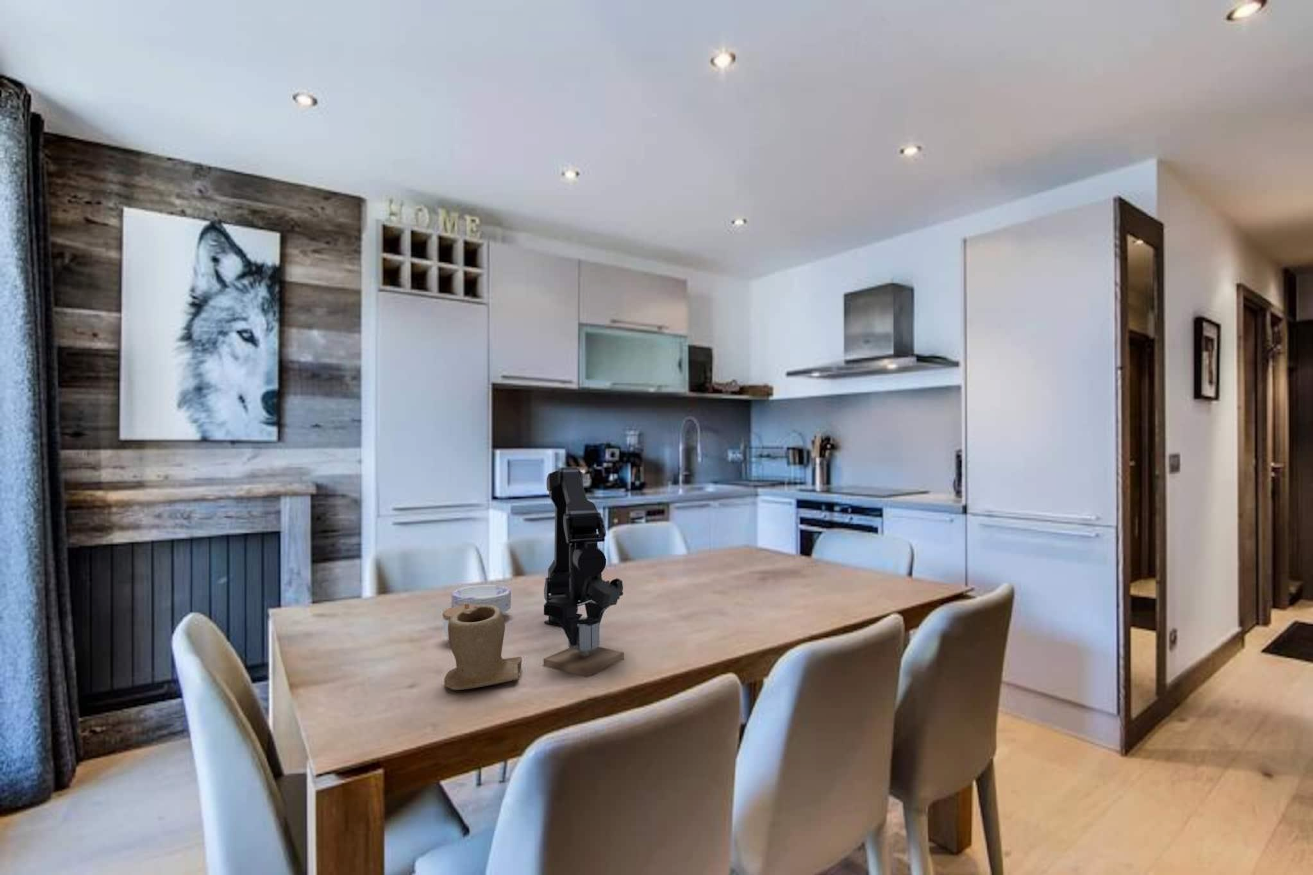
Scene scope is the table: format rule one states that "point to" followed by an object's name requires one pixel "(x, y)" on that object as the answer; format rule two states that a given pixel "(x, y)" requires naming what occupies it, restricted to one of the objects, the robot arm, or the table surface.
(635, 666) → the table surface
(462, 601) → the paper bowls
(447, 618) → the lidded jar
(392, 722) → the table surface
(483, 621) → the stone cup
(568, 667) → the block
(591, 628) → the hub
